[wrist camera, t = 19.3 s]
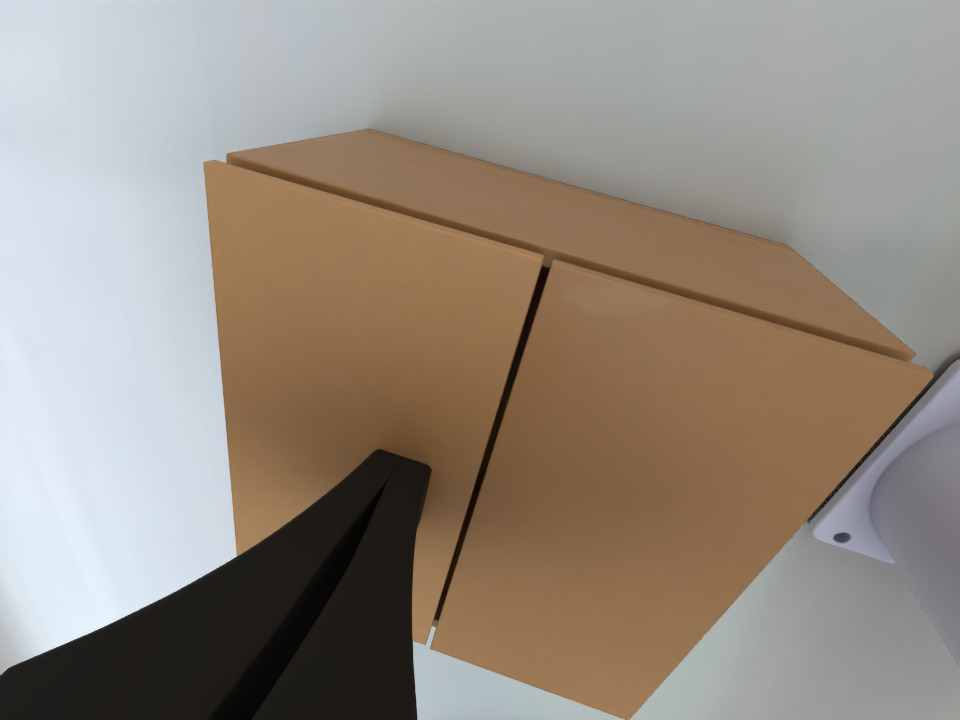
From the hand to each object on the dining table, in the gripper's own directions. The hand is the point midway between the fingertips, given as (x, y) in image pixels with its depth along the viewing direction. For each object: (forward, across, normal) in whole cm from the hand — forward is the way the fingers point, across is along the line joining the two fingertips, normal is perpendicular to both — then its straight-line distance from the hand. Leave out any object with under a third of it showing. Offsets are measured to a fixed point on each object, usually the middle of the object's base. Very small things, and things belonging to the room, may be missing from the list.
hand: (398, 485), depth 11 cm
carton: (+7, -2, 0) cm, 7 cm away
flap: (0, +1, 0) cm, 1 cm away
